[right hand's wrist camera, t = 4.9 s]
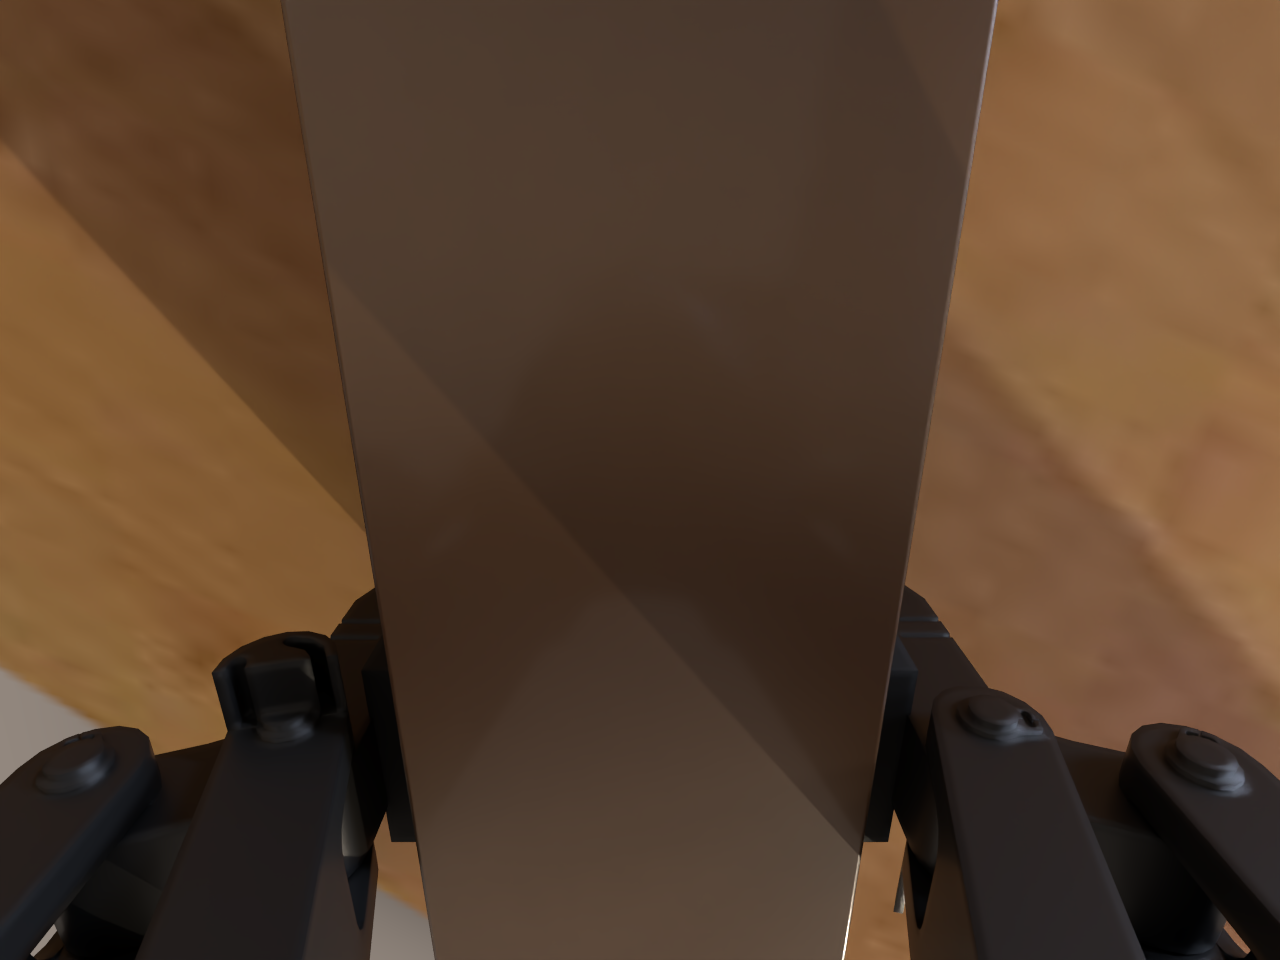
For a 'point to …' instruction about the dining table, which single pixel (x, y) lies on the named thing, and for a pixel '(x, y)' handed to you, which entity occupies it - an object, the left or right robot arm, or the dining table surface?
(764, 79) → the bar
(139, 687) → the dining table surface
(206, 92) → the dining table surface
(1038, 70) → the dining table surface
